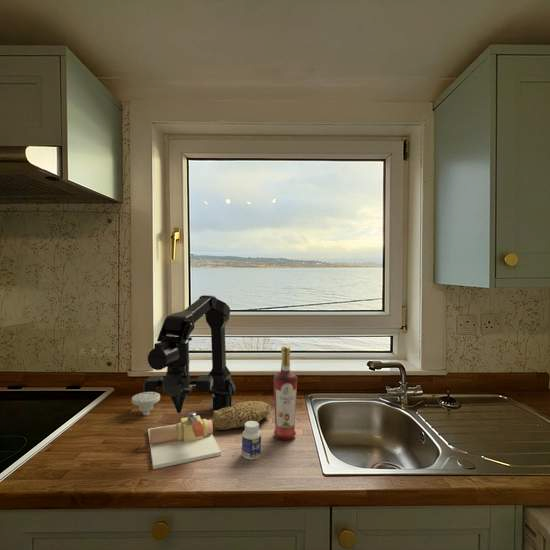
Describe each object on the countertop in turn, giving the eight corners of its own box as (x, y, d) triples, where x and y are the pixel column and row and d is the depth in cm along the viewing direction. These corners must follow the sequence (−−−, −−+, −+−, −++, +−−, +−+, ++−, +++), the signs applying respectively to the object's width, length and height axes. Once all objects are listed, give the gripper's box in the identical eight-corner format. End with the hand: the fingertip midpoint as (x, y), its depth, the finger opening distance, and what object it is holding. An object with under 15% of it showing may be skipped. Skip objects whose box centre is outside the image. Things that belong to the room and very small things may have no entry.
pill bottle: (253, 462, 96) (253, 430, 96) (238, 456, 99) (238, 425, 99) (264, 453, 101) (264, 422, 100) (249, 448, 103) (249, 418, 103)
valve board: (204, 422, 120) (204, 405, 120) (220, 455, 99) (221, 434, 99) (148, 431, 113) (148, 413, 113) (153, 469, 92) (153, 447, 92)
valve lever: (186, 418, 109) (186, 411, 109) (195, 416, 110) (195, 410, 110) (194, 437, 97) (194, 430, 97) (204, 435, 98) (204, 428, 98)
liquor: (274, 443, 106) (275, 350, 105) (271, 431, 113) (272, 344, 112) (298, 441, 107) (300, 349, 106) (294, 430, 115) (294, 344, 114)
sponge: (216, 439, 111) (277, 421, 115) (210, 414, 112) (271, 397, 116) (215, 428, 124) (270, 412, 128) (211, 405, 125) (265, 390, 128)
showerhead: (125, 398, 121) (139, 388, 131) (125, 419, 121) (139, 408, 131) (152, 400, 120) (164, 389, 130) (152, 421, 120) (164, 409, 130)
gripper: (135, 368, 93) (136, 426, 94) (206, 368, 93) (207, 426, 94) (149, 356, 104) (150, 408, 105) (213, 356, 105) (213, 407, 105)
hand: (179, 412), depth 102 cm, fingers closed
